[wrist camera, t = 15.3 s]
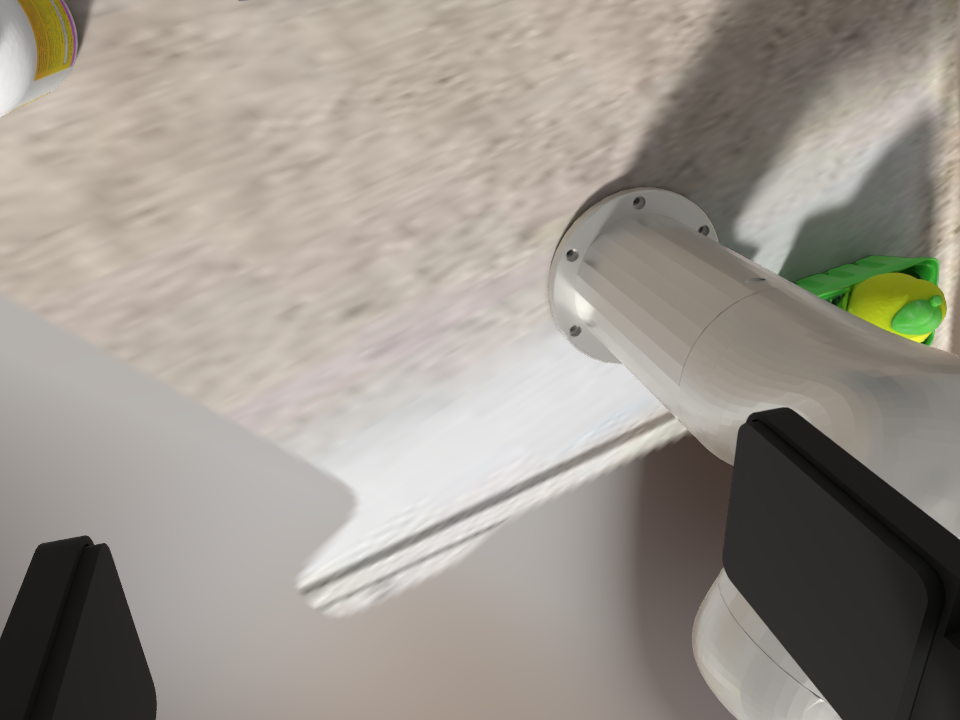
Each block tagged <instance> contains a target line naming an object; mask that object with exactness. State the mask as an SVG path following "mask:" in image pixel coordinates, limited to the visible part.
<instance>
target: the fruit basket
mask: <svg viewBox="0 0 960 720" xmlns="http://www.w3.org/2000/svg"><path fill="white" fill-rule="evenodd" d="M938 280H939V262H938V260H937V259H936V258H932V257H918V258H904V257H891V256H877V255H872V256H869V257H866V258H863V259H860V260H858V261H856V262H855V263H853V264H845V265H842V266H839V267H836V268H833V269H830V270H828V271H827V272H825V273H824V274H815V275H812V276H809V277H806V278H803V279H800V280H799V281H797V282H795V284H796V285H797V286H799V287H801V288H803V289H805V290H807V291H809V292H810V293H813V294H815V295H816V296H818V297H820V298H822V299H824V300H826V301H828V302H829V303H831V304H833V305H835V306H837V307H839V308H841V309H843V310H845V311H847V312H849V313H851V314H853V315H855V316H857V317H860V318H862V319H864V320H866V321H868V322H870V323H872V324H874V325H876V326H878V327H880V328H882V329H884V330H887V331H890V332H892V333H895V334H897V335H900V336H902V337H905V338H908V339H910V340H913V341H916V342H919V343H922V344H925V345H928V346H930V345H931V343H932V341H933V339H934V332H935V329H936V328H937V327H938V326H939V325H940V323H941V322H942V321H943V319H944V317H945V315H946V310H947V307H946V301H945V297H944V294H943V292H942V291H941V290H940V289H939V288H938Z"/></svg>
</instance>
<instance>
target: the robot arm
mask: <svg viewBox="0 0 960 720" xmlns="http://www.w3.org/2000/svg"><path fill="white" fill-rule="evenodd" d="M635 199H636V202H635V203H633V202H634V200H635ZM569 250H571V252H570V254H568V255H567V252H568V251H569ZM548 296H549V304H550V308H551V312H552V316H553V318H554V320H555V322H556V324H557V326H558V328H559V330H560V331H561V332H562V334H563V335H564V336H565V337H566V339H567V340H568V341H569V342H570V343H571V344H572V345H573V346H574V347H575V348H576V349H577V350H578V351H580V352H582V353H583V354H585V355H587V356H589V357H590V358H593V359H596V360H599V361H602V362H605V363H614V364H623V365H624V366H625V367H626V368H627V369H628V370H629V371H630V372H631V373H632V374H633V375H634V376H635V377H636V378H637V379H638V380H639V381H640V382H641V383H642V384H643V385H644V386H645V387H646V388H647V389H648V390H649V391H650V392H651V393H652V394H653V395H654V396H655V397H656V398H657V399H658V400H659V401H660V402H661V403H662V404H663V405H664V406H665V407H666V408H667V409H668V410H669V411H670V412H671V413H672V414H673V415H674V416H675V417H676V418H677V419H678V420H679V421H680V422H681V423H682V424H683V425H684V426H685V427H686V428H687V429H688V430H689V431H690V432H691V433H692V434H693V435H694V436H695V437H696V438H697V439H698V440H699V441H700V442H701V443H702V444H703V445H704V446H705V447H706V448H707V449H708V450H710V451H711V452H712V453H714V454H715V455H716V456H717V457H719V458H720V459H722V460H724V461H726V462H727V463H729V464H731V465H733V466H734V467H733V475H732V484H731V491H730V499H729V507H728V516H727V524H726V532H725V540H724V548H723V566H724V567H723V569H722V570H721V572H720V574H719V576H718V577H717V579H716V580H715V582H714V583H713V585H712V586H711V588H710V590H709V591H708V593H707V595H706V597H705V598H704V600H703V602H702V604H701V606H700V608H699V610H698V613H697V615H696V619H695V622H694V625H693V635H692V644H693V652H694V656H695V659H696V662H697V665H698V667H699V670H700V672H701V674H702V675H703V677H704V679H705V681H706V682H707V684H708V685H709V687H710V688H711V690H712V691H713V692H714V694H715V695H716V697H717V698H718V699H719V700H720V701H721V703H722V704H723V705H724V706H725V707H726V708H727V709H728V710H729V711H730V712H731V713H732V714H733V715H734V716H735V717H736V718H737V719H738V720H960V356H958V355H955V354H952V353H949V352H946V351H943V350H940V349H937V348H934V347H931V346H928V345H925V344H922V343H919V342H916V341H913V340H910V339H908V338H905V337H902V336H900V335H897V334H895V333H892V332H890V331H887V330H884V329H882V328H880V327H878V326H876V325H874V324H872V323H870V322H868V321H866V320H864V319H862V318H860V317H857V316H855V315H853V314H851V313H849V312H847V311H845V310H843V309H841V308H839V307H837V306H835V305H833V304H831V303H829V302H828V301H826V300H824V299H822V298H820V297H818V296H816V295H815V294H813V293H810V292H809V291H807V290H805V289H803V288H801V287H799V286H797V285H796V284H794V283H792V282H790V281H788V280H786V279H785V278H783V277H781V276H779V275H777V274H775V273H773V272H772V271H770V270H768V269H766V268H764V267H762V266H760V265H759V264H757V263H755V262H753V261H751V260H749V259H747V258H746V257H744V256H742V255H740V254H738V253H736V252H734V251H733V250H731V249H729V248H727V247H725V246H723V245H722V244H720V243H719V240H718V237H717V234H716V231H715V229H714V226H713V225H712V223H711V222H710V220H709V218H708V217H707V215H706V214H705V213H704V212H703V211H702V210H701V209H700V208H699V207H698V206H697V205H696V204H695V203H693V202H692V201H690V200H688V199H687V198H685V197H684V196H682V195H679V194H677V193H675V192H672V191H670V190H666V189H661V188H656V187H637V188H632V189H628V190H623V191H620V192H617V193H615V194H613V195H610V196H608V197H605V198H604V199H602V200H601V201H599V202H597V203H596V204H594V205H593V206H591V207H590V208H589V209H587V210H586V211H585V212H584V213H583V214H582V215H581V216H580V217H579V218H578V219H577V220H576V221H575V222H574V223H573V225H572V226H571V227H570V229H569V230H568V231H567V232H566V234H565V235H564V237H563V239H562V241H561V242H560V244H559V246H558V248H557V250H556V252H555V255H554V258H553V261H552V264H551V268H550V274H549V281H548ZM572 326H573V328H571V327H572ZM570 328H571V329H570ZM156 707H157V701H156V692H155V687H154V683H153V680H152V677H151V674H150V671H149V668H148V665H147V662H146V658H145V655H144V652H143V649H142V646H141V643H140V640H139V637H138V634H137V631H136V628H135V625H134V622H133V619H132V616H131V613H130V610H129V606H128V604H127V600H126V598H125V594H124V591H123V588H122V585H121V582H120V579H119V576H118V573H117V570H116V567H115V564H114V561H113V558H112V555H111V552H110V549H109V547H108V546H107V544H105V543H103V544H97V545H94V544H93V541H92V540H91V538H90V537H89V536H80V537H74V538H69V539H64V540H58V541H53V542H47V543H42V544H40V545H39V546H38V547H37V549H36V551H35V553H34V555H33V558H32V560H31V563H30V565H29V568H28V570H27V573H26V575H25V578H24V580H23V583H22V585H21V588H20V590H19V593H18V595H17V598H16V600H15V603H14V605H13V608H12V610H11V613H10V615H9V618H8V621H7V623H6V626H5V628H4V631H3V633H2V636H1V638H0V720H155V719H156V710H157V708H156Z"/></svg>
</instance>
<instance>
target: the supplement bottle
mask: <svg viewBox="0 0 960 720" xmlns="http://www.w3.org/2000/svg"><path fill="white" fill-rule="evenodd" d="M77 48H78V39H77V31H76V26H75V23H74V20H73V17H72V14H71V12H70V10H69V8H68V6H67V4H66V3H65V1H64V0H0V117H2V116H4V115H6V114H8V113H10V112H12V111H14V110H16V109H18V108H20V107H22V106H24V105H26V104H28V103H30V102H32V101H34V100H36V99H38V98H40V97H42V96H44V95H46V94H48V93H50V92H51V91H53V90H54V89H55V88H57V87H58V86H59V85H60V84H62V83H63V81H64V80H65V79H66V78H67V77H68V75H69V73H70V72H71V70H72V68H73V66H74V63H75V59H76V55H77Z"/></svg>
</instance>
